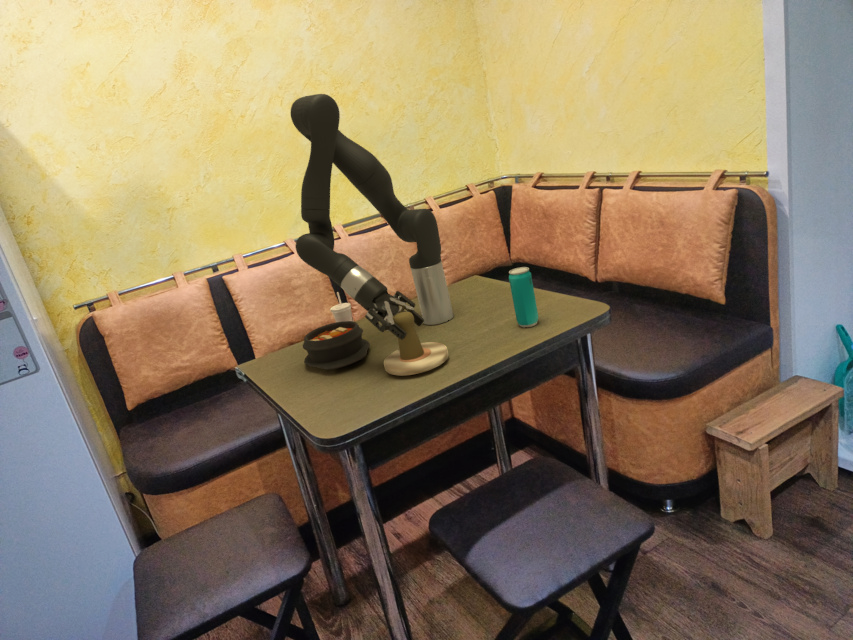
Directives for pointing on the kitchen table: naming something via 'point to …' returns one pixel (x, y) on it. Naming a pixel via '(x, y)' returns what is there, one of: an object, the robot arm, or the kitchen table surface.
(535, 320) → the beverage can
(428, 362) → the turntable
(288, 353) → the kitchen table surface
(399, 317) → the brown pepper shaker
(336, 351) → the casserole
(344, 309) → the smoothie
